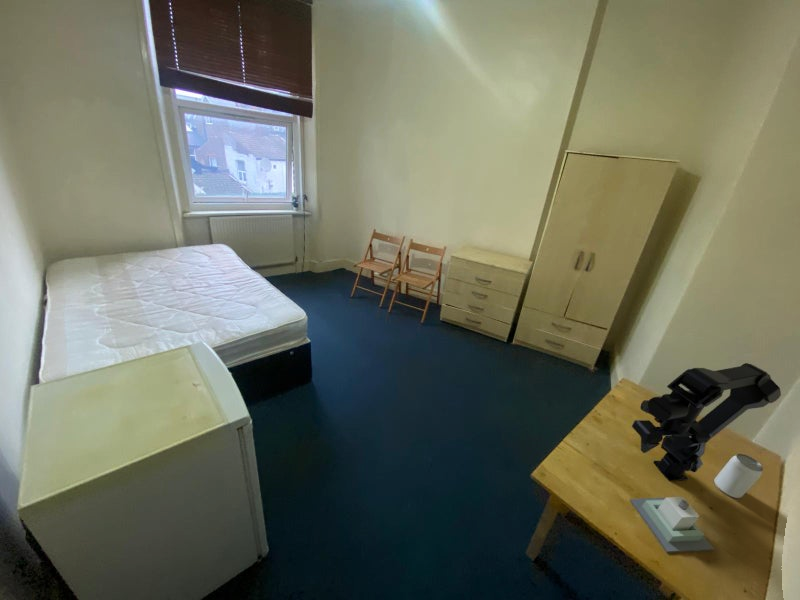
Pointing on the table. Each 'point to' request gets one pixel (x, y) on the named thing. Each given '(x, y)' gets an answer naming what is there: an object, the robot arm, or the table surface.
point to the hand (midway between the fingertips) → (657, 451)
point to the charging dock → (669, 529)
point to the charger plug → (677, 513)
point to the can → (738, 475)
